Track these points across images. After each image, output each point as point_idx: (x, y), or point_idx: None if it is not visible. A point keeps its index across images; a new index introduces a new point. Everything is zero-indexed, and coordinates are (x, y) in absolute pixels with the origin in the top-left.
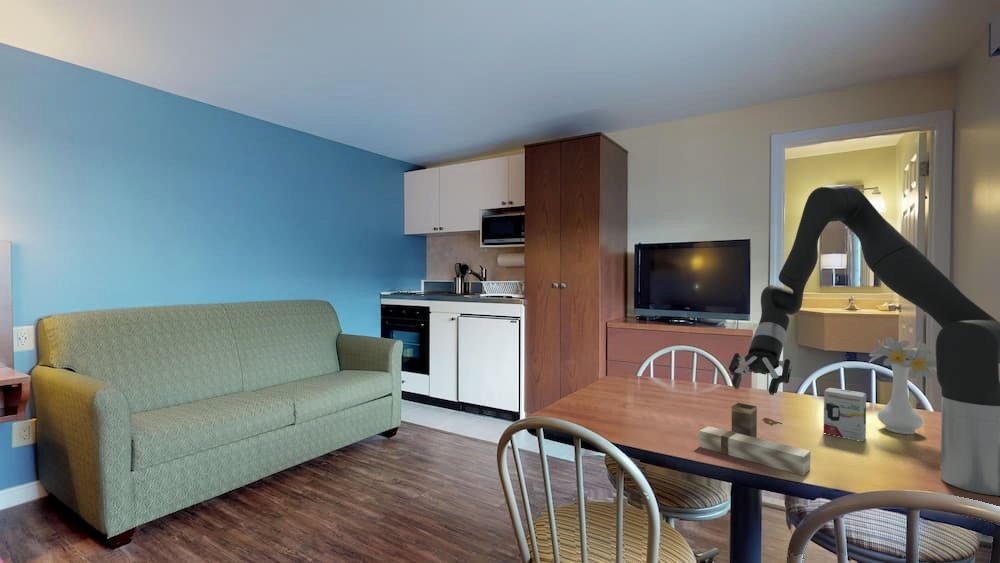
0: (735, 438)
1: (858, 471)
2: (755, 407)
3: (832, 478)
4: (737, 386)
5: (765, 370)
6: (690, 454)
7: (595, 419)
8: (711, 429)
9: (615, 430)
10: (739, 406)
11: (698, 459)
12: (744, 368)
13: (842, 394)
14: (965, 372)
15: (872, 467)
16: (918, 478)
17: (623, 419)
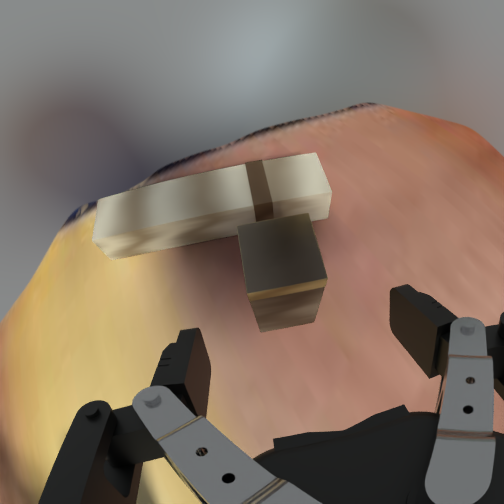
0: (232, 173)
1: (54, 328)
2: (244, 277)
3: (80, 253)
4: (394, 316)
5: (265, 452)
6: (292, 142)
7: (499, 154)
8: (308, 178)
9: (443, 136)
10: (287, 231)
11: (268, 138)
12: (447, 363)
13: None
14: None
15: (42, 373)
16: (3, 373)
17: (499, 190)
